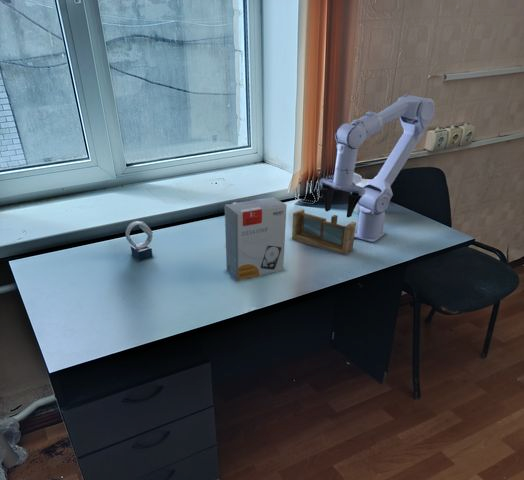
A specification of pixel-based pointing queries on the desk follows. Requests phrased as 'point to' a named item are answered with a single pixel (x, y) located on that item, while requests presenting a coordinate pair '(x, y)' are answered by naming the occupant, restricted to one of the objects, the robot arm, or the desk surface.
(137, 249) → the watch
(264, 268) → the hard drive box
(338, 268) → the desk surface
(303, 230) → the window frame
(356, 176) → the piggy bank
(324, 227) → the sash
